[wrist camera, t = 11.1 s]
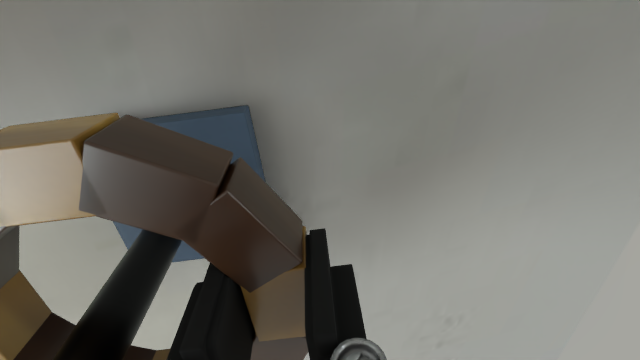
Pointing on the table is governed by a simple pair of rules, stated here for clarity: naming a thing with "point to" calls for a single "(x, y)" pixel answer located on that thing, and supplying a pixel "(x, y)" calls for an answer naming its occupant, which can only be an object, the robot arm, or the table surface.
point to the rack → (153, 247)
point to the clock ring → (148, 222)
